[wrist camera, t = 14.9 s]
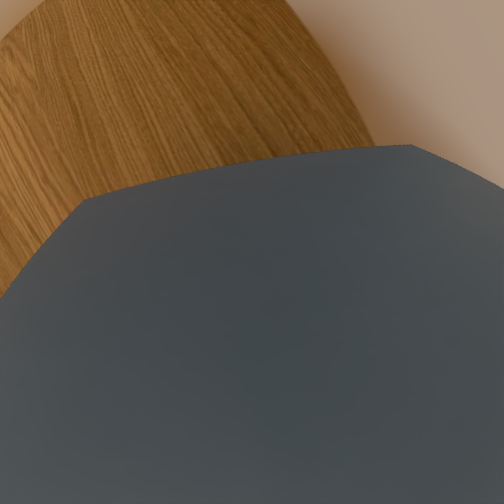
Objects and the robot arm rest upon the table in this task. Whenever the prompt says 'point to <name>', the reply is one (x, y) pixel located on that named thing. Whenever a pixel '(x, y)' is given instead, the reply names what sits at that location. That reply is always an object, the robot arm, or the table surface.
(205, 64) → the table surface
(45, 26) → the table surface
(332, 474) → the lid
